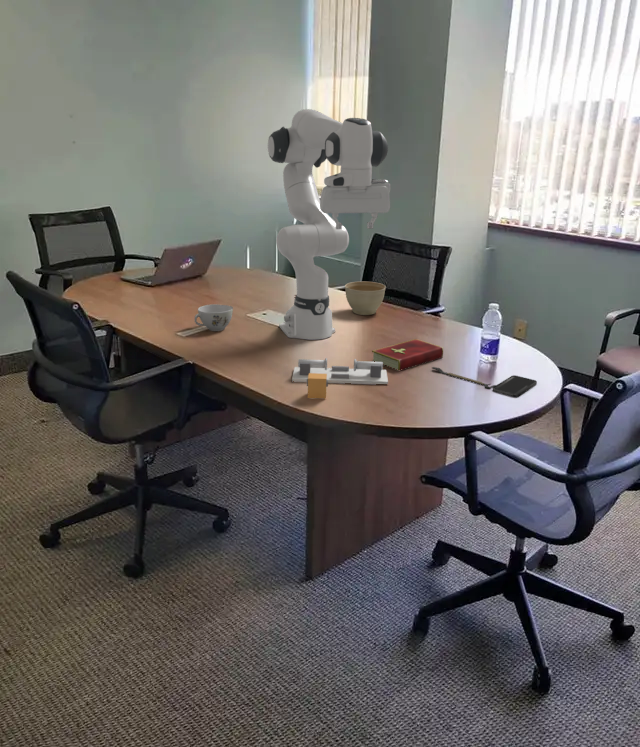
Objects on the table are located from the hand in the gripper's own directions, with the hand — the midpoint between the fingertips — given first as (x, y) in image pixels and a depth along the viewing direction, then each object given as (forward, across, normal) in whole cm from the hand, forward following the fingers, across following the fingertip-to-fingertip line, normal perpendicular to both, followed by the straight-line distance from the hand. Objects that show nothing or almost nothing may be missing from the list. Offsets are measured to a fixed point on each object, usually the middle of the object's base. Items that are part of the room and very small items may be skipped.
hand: (354, 228), depth 193 cm
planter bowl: (+42, -23, -62) cm, 78 cm away
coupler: (+43, +15, +21) cm, 50 cm away
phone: (+44, -43, +24) cm, 66 cm away
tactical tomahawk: (+44, -32, +14) cm, 56 cm away
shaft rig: (+43, +5, +8) cm, 44 cm away
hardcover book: (+43, -20, -4) cm, 48 cm away
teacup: (+42, +39, -48) cm, 74 cm away
